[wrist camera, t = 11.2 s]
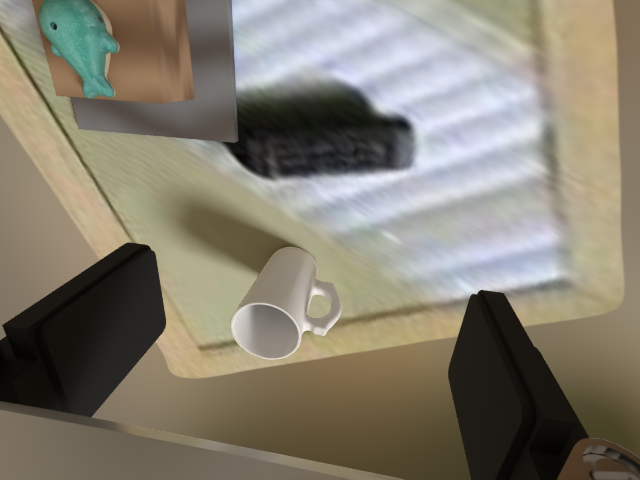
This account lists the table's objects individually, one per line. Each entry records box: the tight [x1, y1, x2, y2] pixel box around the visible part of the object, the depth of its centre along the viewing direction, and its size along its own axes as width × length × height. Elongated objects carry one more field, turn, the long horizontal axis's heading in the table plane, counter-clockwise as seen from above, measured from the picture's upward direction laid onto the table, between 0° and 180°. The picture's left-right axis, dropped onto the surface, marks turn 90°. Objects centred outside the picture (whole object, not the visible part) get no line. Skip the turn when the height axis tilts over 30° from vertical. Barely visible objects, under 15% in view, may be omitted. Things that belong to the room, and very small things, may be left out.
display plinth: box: [32, 0, 238, 143], centre depth 32 cm, size 18×18×7 cm
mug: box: [230, 247, 341, 360], centre depth 38 cm, size 10×7×12 cm, turn 87°
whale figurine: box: [39, 0, 120, 99], centre depth 27 cm, size 6×7×4 cm
